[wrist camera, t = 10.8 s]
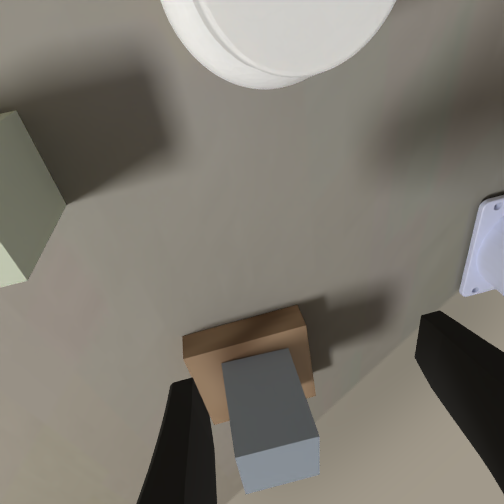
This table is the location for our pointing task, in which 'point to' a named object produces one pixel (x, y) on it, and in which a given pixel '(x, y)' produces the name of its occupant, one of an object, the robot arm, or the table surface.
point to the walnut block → (245, 352)
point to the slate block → (270, 421)
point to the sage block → (23, 202)
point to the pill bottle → (274, 36)
